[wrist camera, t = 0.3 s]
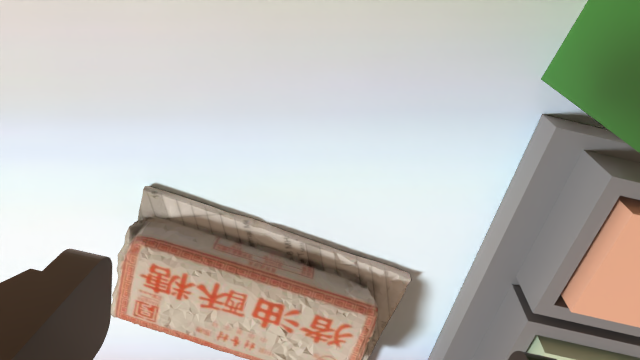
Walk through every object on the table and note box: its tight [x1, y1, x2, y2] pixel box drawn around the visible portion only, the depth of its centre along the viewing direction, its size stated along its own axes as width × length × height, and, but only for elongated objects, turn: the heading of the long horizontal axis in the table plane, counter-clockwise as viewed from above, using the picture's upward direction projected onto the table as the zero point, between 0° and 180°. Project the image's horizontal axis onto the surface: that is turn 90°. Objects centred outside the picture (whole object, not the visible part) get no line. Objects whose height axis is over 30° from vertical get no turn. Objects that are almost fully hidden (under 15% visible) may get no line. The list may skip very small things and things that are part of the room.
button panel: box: [428, 114, 640, 360], centre depth 29 cm, size 28×12×5 cm, turn 168°
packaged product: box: [111, 186, 411, 360], centre depth 30 cm, size 18×5×10 cm
